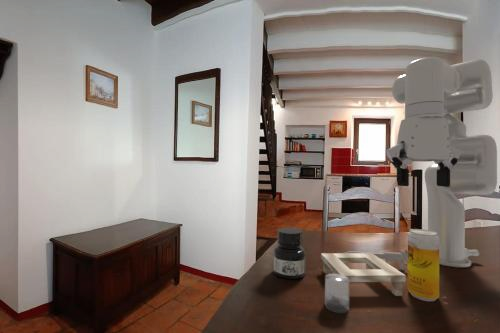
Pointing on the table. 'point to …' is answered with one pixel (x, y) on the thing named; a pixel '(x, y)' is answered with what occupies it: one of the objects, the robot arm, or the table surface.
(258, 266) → the table surface
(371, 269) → the birch stand
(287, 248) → the ink bottle
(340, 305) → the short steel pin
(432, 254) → the beer can
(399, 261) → the caliper
